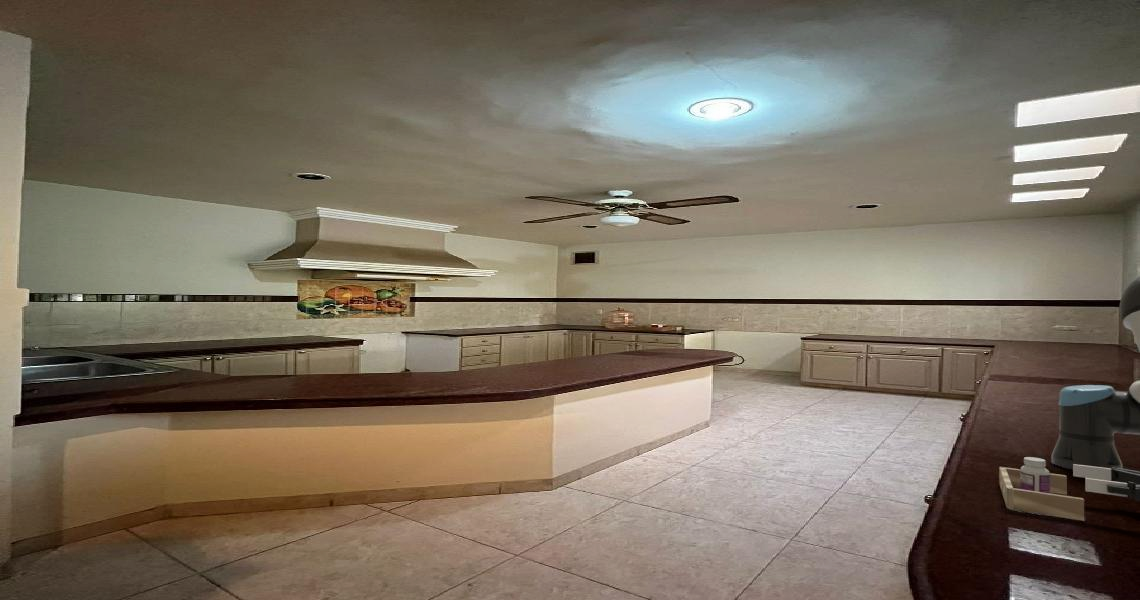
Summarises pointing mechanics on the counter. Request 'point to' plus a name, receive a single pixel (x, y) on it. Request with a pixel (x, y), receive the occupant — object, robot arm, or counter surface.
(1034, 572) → the counter surface
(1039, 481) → the pill bottle
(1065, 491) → the wooden frame
